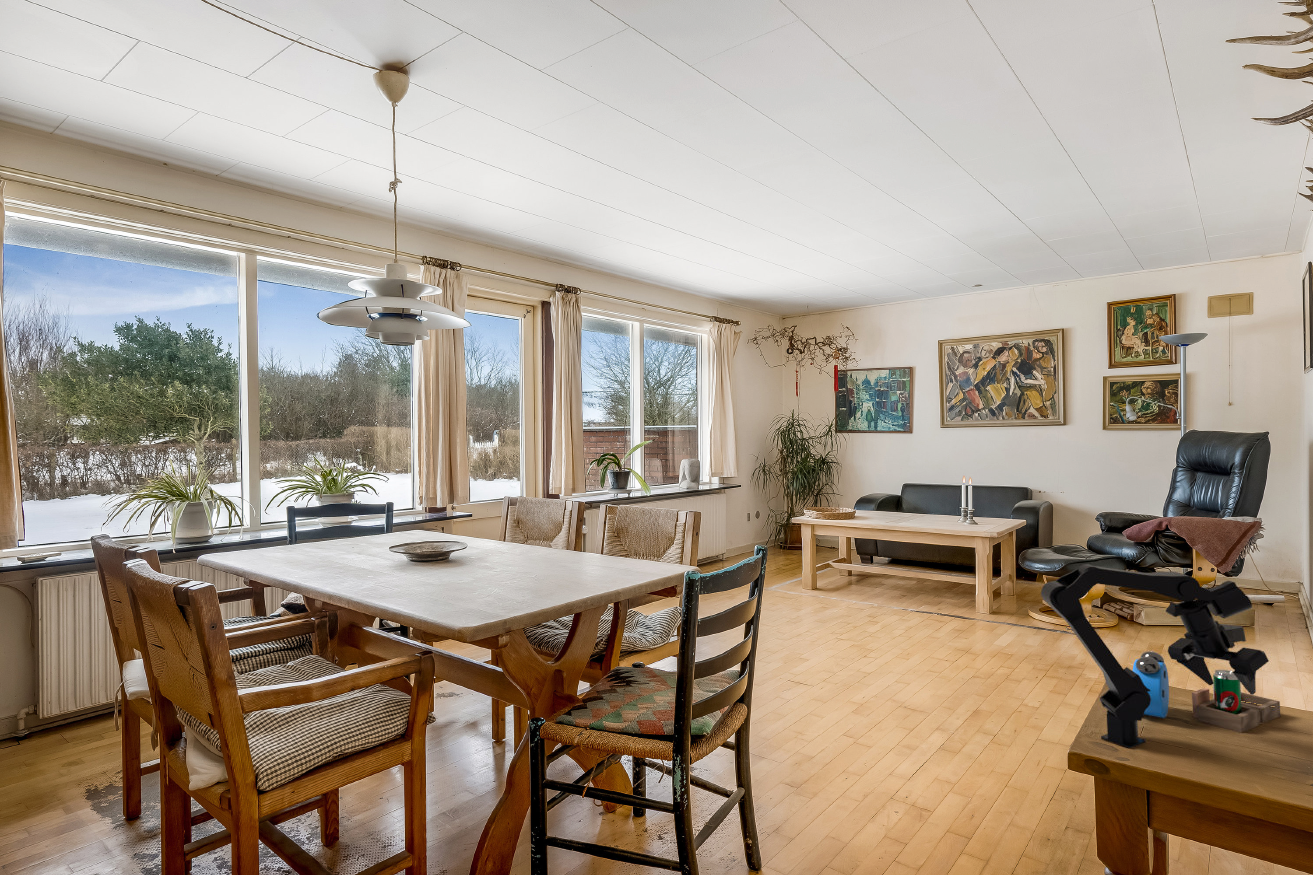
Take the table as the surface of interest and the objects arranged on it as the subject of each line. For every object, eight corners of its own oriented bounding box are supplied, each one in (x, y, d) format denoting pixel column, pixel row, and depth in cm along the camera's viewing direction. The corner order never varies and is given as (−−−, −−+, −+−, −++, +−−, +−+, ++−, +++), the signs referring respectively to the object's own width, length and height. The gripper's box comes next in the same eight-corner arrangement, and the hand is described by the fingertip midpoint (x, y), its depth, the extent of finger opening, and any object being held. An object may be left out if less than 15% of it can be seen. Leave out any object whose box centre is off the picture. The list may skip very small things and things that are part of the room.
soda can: (1248, 725, 165) (1245, 674, 165) (1228, 727, 165) (1226, 676, 165) (1228, 717, 170) (1226, 668, 170) (1209, 719, 170) (1207, 669, 170)
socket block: (1241, 732, 162) (1240, 706, 162) (1189, 718, 171) (1188, 693, 171) (1280, 715, 170) (1279, 690, 170) (1229, 702, 180) (1228, 679, 180)
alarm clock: (1142, 704, 181) (1139, 646, 181) (1171, 710, 176) (1168, 650, 177) (1132, 720, 171) (1129, 658, 171) (1163, 726, 167) (1160, 662, 167)
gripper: (1268, 613, 150) (1301, 679, 150) (1185, 604, 168) (1214, 663, 168) (1234, 638, 147) (1267, 706, 147) (1153, 626, 165) (1182, 686, 165)
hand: (1231, 688), depth 157 cm, fingers open, 9 cm apart
